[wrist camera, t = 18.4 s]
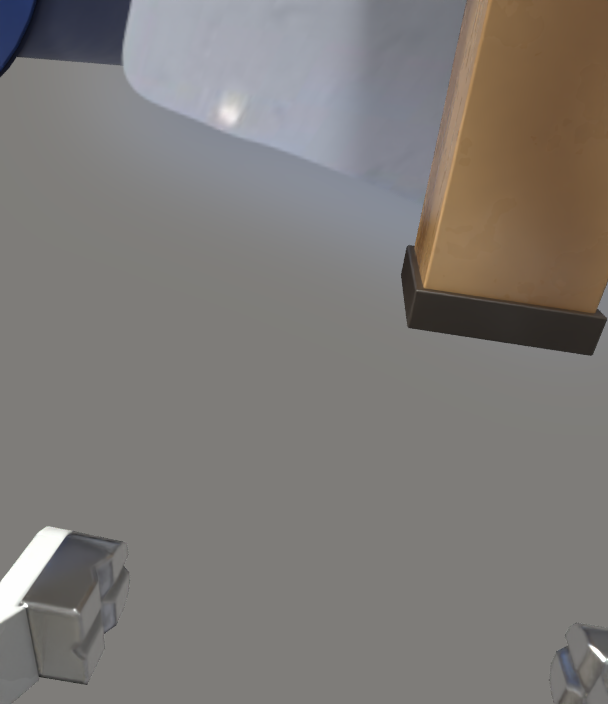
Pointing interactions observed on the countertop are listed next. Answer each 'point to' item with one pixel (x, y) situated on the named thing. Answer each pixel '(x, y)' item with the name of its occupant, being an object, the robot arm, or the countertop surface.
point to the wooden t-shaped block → (519, 181)
